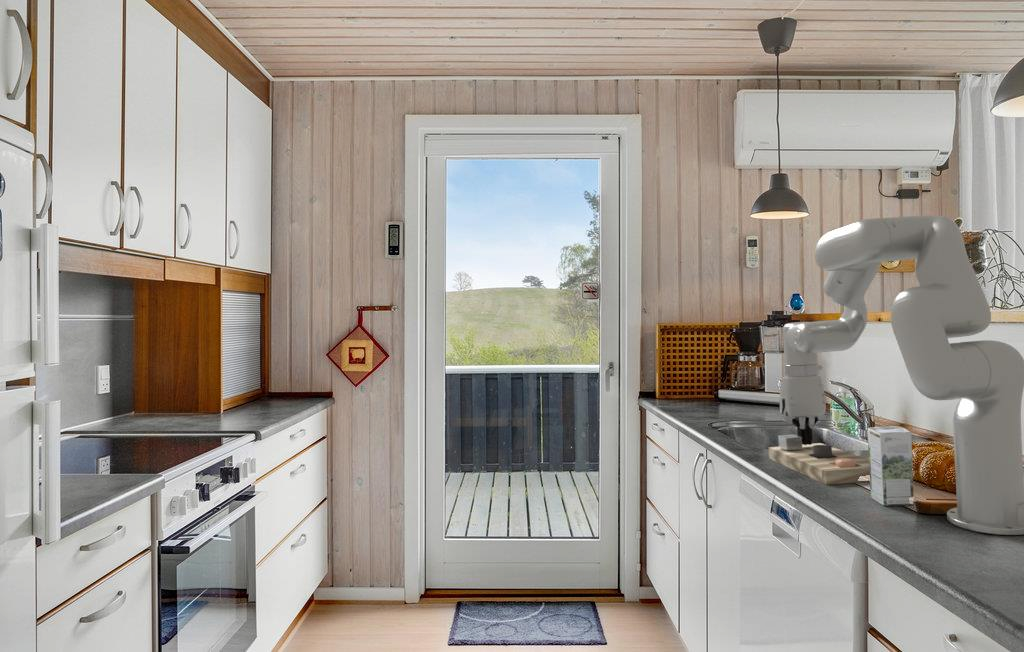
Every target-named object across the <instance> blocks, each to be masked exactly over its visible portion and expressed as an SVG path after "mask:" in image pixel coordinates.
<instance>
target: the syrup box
mask: <svg viewBox="0 0 1024 652" xmlns="http://www.w3.org/2000/svg"><path fill="white" fill-rule="evenodd" d="M912 439H913V438H912V432H911V431H909V430H908V429H906V428H904V427H902V426H897V425H894V426H893V425H891V426H874V427H873V426H872V427H867V445H868V446H867V448H868V449H867V450H868V460H869V473H870V481H869V488H870V489H869V490H870V491H869V495H870V498H871V499H872V500H874V501H875V502H877V503H878V504H880V505H882V506H884V507H886V506H887V507H888V506H889V507H890V506H891V507H892V506H893V507H894V506H898V507H899V506H911V505H910V503H909V502H910V501H909V498H910V497H913V496H914V497H915V495H914V492H915V491H914V473H913V472H914V471H913V470H914V469H913V466H914V465H913V442H912Z"/></svg>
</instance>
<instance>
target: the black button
mask: <svg viewBox="0 0 1024 652" xmlns="http://www.w3.org/2000/svg"><path fill="white" fill-rule="evenodd" d="M832 447H833V446H831V445H828V444H825V445H815V446H813V455H814V457H815V458H817V459H824V458H832Z"/></svg>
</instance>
